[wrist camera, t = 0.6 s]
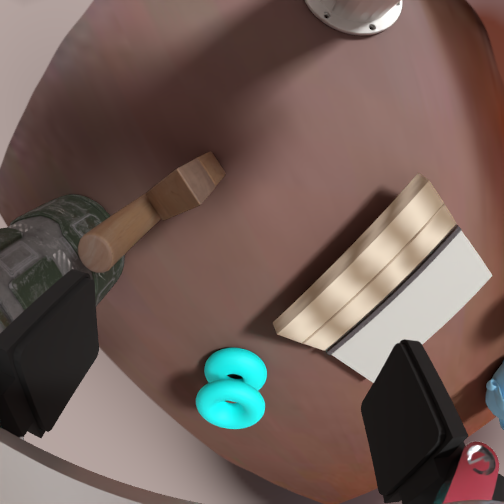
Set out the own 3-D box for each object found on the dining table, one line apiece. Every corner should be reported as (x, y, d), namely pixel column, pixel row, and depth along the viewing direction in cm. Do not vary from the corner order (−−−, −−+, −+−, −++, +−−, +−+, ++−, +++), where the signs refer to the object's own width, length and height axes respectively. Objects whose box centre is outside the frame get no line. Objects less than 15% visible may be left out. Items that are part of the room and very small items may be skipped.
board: (450, 220, 39) (458, 226, 36) (486, 269, 41) (493, 277, 39) (324, 342, 48) (326, 353, 45) (371, 375, 50) (374, 385, 48)
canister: (49, 279, 47) (-56, 384, 21) (40, 188, 41) (-105, 265, 15) (129, 299, 47) (35, 442, 21) (128, 198, 41) (-27, 309, 15)
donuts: (275, 401, 40) (251, 438, 44) (276, 354, 49) (255, 393, 53) (202, 381, 39) (188, 421, 43) (214, 335, 48) (200, 377, 52)
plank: (418, 172, 33) (429, 180, 31) (447, 215, 38) (456, 223, 36) (272, 322, 42) (277, 334, 40) (319, 340, 47) (324, 351, 45)
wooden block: (227, 174, 39) (190, 218, 22) (159, 218, 42) (93, 283, 25) (211, 149, 38) (161, 175, 21) (144, 195, 40) (68, 248, 24)
